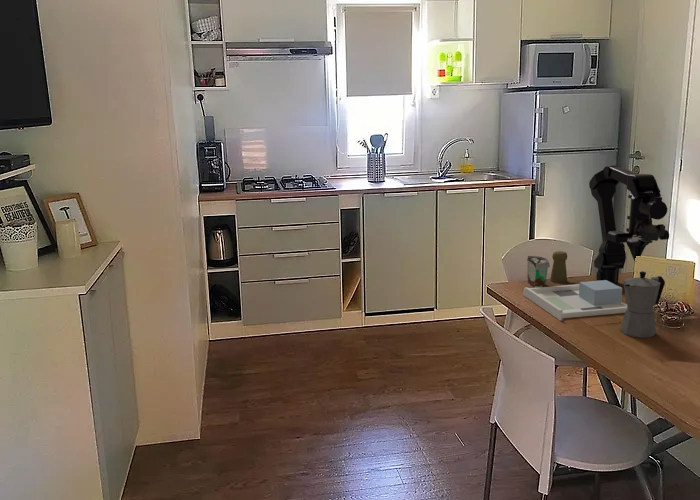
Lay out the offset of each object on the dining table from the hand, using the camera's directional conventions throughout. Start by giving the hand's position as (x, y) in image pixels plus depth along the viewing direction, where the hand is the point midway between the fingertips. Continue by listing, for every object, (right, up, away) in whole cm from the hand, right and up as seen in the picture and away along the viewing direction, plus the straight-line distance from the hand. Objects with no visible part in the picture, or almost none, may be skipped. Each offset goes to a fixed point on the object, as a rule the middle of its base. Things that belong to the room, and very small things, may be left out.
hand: (636, 261), depth 208 cm
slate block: (-11, -13, +1) cm, 17 cm away
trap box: (-18, -14, 0) cm, 23 cm away
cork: (-17, -8, +26) cm, 32 cm away
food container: (-26, -10, +20) cm, 34 cm away
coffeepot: (-10, -20, -25) cm, 34 cm away
